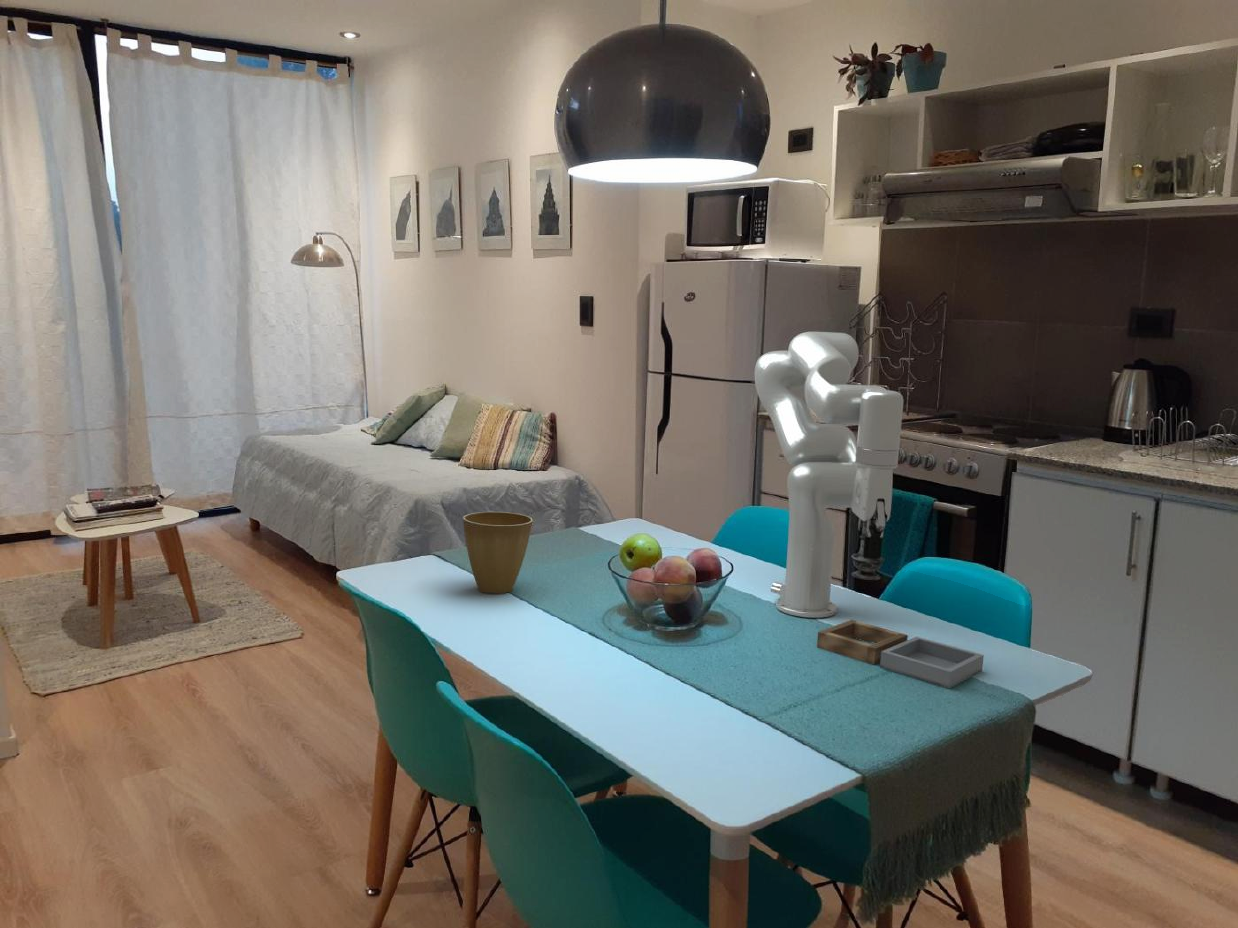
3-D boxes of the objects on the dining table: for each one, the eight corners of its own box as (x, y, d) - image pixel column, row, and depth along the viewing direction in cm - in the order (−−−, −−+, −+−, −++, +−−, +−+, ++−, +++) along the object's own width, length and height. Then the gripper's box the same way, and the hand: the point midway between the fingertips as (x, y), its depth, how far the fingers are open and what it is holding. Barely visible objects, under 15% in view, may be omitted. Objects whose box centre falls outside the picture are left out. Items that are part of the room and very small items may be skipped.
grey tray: (879, 667, 174) (881, 651, 174) (915, 651, 184) (916, 636, 183) (948, 688, 165) (950, 671, 165) (982, 670, 175) (983, 654, 174)
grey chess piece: (889, 578, 182) (895, 515, 180) (866, 581, 178) (872, 517, 176) (865, 570, 186) (871, 508, 184) (843, 573, 183) (848, 511, 181)
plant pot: (503, 603, 203) (505, 528, 201) (447, 590, 211) (448, 518, 208) (543, 587, 216) (545, 517, 214) (489, 576, 224) (491, 508, 221)
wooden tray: (816, 647, 184) (818, 631, 183) (850, 634, 192) (851, 619, 192) (873, 664, 176) (875, 648, 175) (906, 650, 184) (907, 634, 184)
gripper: (845, 449, 187) (837, 542, 190) (868, 464, 170) (859, 566, 173) (884, 451, 187) (875, 544, 190) (911, 466, 170) (901, 567, 174)
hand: (868, 553), depth 182 cm, fingers closed on grey chess piece, 4 cm apart
